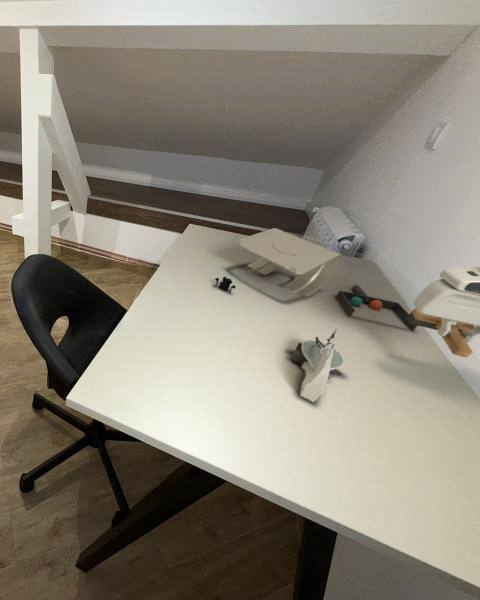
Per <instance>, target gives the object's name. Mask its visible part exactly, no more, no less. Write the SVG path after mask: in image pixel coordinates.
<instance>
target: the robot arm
mask: <svg viewBox="0 0 480 600" xmlns="http://www.w3.org/2000/svg"><path fill="white" fill-rule="evenodd" d="M439 277H440V279H439V278H438V279H436V280H433V281H432V282H430V283H429V284H427V286H426V287H425V288H424V289H422V290H421V292H420V293H419V294H418V295H417V296H416V297H415V298H414V300H413V306H414V309H417V310H418V311H419V312H420V313H422V314H426V315H431V316H435V317H440V318H441V321H442V327H441V328H440V329H439V330H436V332H437V334H438V335H439V336H441V337H442V336H445V337H450V336H451V335H452V334H453V333H454V331H453V330H452V329H451V324H452V325H455V324H456V323H457V322H462V323H467V324H471V325H474V326H475V328H473V329H471V330H469V331H462V332H461V333H460V334H461V335H462V337H463V338H464V339H465V341H466V342H467V343H471V342H472V341H473V340H474V339H475V338H477V337H480V266H472V267H453V268H451V267H449V268H444V269H443V270H442V271H441V272H440V274H439Z"/></svg>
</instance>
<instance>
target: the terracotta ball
mask: <svg viewBox="0 0 480 600" xmlns="http://www.w3.org/2000/svg"><path fill="white" fill-rule="evenodd" d="M368 306H369V307H370V309H371V310H374V311H375V310H380V309H383V308H382V306H383V304H382V302H381V301H379V300H373V301H371V302H370V303H369V305H368Z"/></svg>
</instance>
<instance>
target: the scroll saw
mask: <svg viewBox="0 0 480 600" xmlns="http://www.w3.org/2000/svg"><path fill="white" fill-rule="evenodd" d="M337 331H338V328H335V329H334V331H333V332H332V333H331V335H330V337H329V338H327V339H326V343H324V342H321V340H320V339H319V337H318V336H315V340H305V341H303V342H298V344H297V345H296V348H295V351H294V350H290V351H289V352H288V353H289V355H291V359H292V361H295V362H296V363H298V364H300V370H301V371H302V372H303V373H302V375H301V377H300V379H299V384H298V385H299V387H298V392H297V396H298V397H299V398H300V399H303V400H304V401H306V402H309V404H316V402H317V400H318V399H319V397H321V396H323V395H324V394H325V391H326V387H327V385H328V379H329V376H330V374H331V375H334V376H336V377H342V376H343V373H342V372H341V371H339V370H338V369H339V368H340V367H342V365H343V363H344V358H343V356H342V354H341V353H340V352H339V351H338V350H337V349H335V348H334V346H335V345H336V344H335V343H333V340H334V339H335V335H336V332H337ZM332 343H333V344H332Z"/></svg>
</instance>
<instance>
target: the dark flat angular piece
mask: <svg viewBox="0 0 480 600" xmlns="http://www.w3.org/2000/svg"><path fill="white" fill-rule="evenodd" d="M351 288H352V290H353V291H354V292H350V291H345V290H341V289H340V290H338V292H337V294H336V296H335V298H336V299H337V301H338V303H339V305H340V306H341V308H342V309H343V310H344V312H345V314H346V315H347V317H351V316H352V315H353V314H354V312H355V311H356V309H355V307H354V306H353V305H351V303H350V299H351V298H353V297H359V298H361V299H362V304H364V305H368V306H369V303H370V302H371V301H373V300H379V301H381V302H382V304H383V306H382V308H381V309H387V310H391V311H393V312H394V314H395V315H396V316H397V317H398V318H399V319H400V320H401V321H402V323H403V324H405V325H406V327H407V328H408V329H409V330H410V331H411V332H414V331H415V330H416V328H417V327H418V326H417V325H413V324H410V323H409V322H408V320H407V318H406V317H407V316H408V315H409V314H410V313H409V312H408V311H407V310H406V309H405V308H404V307H403V305H401V304H400V303H399V302H397V301H392V300H387V299H383V298H378V297H373V296H368V294H367V293H366V292H365V291H364V290H363V289H362V287H361V286H360V285H358V284H354V285H352V286H351Z"/></svg>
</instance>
